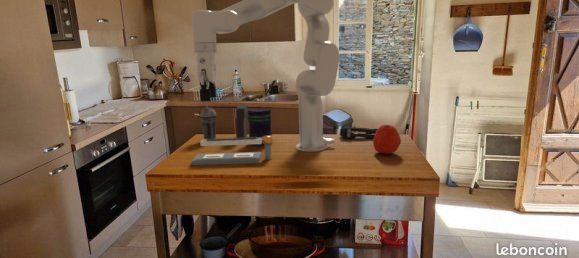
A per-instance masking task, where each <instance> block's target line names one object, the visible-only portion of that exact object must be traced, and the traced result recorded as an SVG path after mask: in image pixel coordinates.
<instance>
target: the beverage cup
mask: <svg viewBox="0 0 579 258" xmlns="http://www.w3.org/2000/svg"><path fill="white" fill-rule="evenodd" d="M205 103H206V107H204V108H202V110H201V111H200V115H199V118H200V122H201V128H202V132H203V133H202V134H203V138H204V139H217V138H216V137H217V136H216V133H217V129H216V128H217V117H218V116H217V112H216V111H215V109H214V108H212V107H208V106H209V105H208V101H205Z"/></svg>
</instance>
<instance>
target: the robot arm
mask: <svg viewBox="0 0 579 258" xmlns="http://www.w3.org/2000/svg"><path fill="white" fill-rule="evenodd" d="M296 4H297V8H298V12H299V13H300V15H301V16H302V17H303V19H304V21H305V23H306V27H307V31H306V40H305V44H304V51H303V61H304V63H305V64H306V65H308V66H310V67H315V68H314V69H305V70H302V71H300V72H299V74H298V75H297V76H296V80H295V88H296V93H297V99H298V129H299V130H298V131H299V134H298V135H299V143H297V144H296V145H295V149H296V150H298V151H301V152H320V151H324V150H326V149H328V146H327V145H328V144H329V145H335V144H336V141H335V138H325V137H324V122H323V121H324V117H323V115H324V112H323V110H324V109H323V108H324V107H323V105H324V104H323V99H322V97H326V96H328V95H330V94H331V93H332V92H333V90H334V88H335V85H336V80H337V75H338V70H339V63H340V49H339V48H338V46H337V45H336V44H335V43H334V42H332V41H330V39H329V38H330V37H329V36H330V24H329V21H328V18H327V17H326V15H327V14H329V13H330V12H332V9H333V8H334V0H241V1H239V2H236V3H234V4H232V5H230V6H228V7H226V8H225V7H224V8H223V9H221V10H208V9H207V10H206V9H197V10H194V11H193V12H192V13H191V21H192V22H191V23H192V24H191V25H192V38H193V53H194V54H196V61H197V62H196V63H197V64H196V65H197V79H198V82H199V96H200V98H199V100H200V101H201V102H206V101H207V102H211V99H214V98H217V89H216V88H217V87H216V82H217V81H218V79H219V75H218V66H217V59H216V58H217V57H216V53H218V47H217V46H218V45H217V44H218V43H217V34H218V35H225V34H232V33H233V32H235V31H237V30H238V28H240V26H242V25H244V24H247V23H250V22H254V21H258V20H261V19H264V18H267V17H268V16H270V15H272V14H274V13H276V12H278V11H280V10H282V9H284V8H287V7H289V6H291V5H296Z"/></svg>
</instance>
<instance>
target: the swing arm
mask: <svg viewBox="0 0 579 258" xmlns="http://www.w3.org/2000/svg"><path fill="white" fill-rule="evenodd" d="M262 140H263V143H264V144H270V143H272V144H273V135H272V136H270V135H266V136H262V137H249V136H248V137H246V138H236V137H229V138H228V137H227V138H225V137H223V138H222V137H221V138H215V139H201V140H200V142H199V143H200V147H212V146H215V147H216V146H219V147H220V146H243V145H244V146H245V145H246V146H247V145H248V146H249V145H250V144H262Z"/></svg>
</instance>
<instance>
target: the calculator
mask: <svg viewBox="0 0 579 258" xmlns="http://www.w3.org/2000/svg"><path fill="white" fill-rule="evenodd" d="M247 115H248V105H247V104H240V105H238V106H237V107H235V134H236V137H235V138H247V136H248V132H247V131H248V129H247Z"/></svg>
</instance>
